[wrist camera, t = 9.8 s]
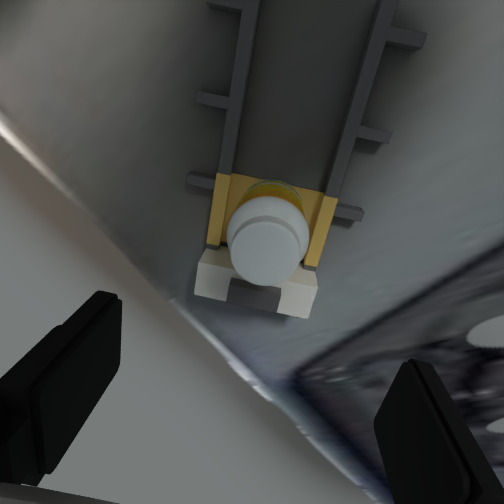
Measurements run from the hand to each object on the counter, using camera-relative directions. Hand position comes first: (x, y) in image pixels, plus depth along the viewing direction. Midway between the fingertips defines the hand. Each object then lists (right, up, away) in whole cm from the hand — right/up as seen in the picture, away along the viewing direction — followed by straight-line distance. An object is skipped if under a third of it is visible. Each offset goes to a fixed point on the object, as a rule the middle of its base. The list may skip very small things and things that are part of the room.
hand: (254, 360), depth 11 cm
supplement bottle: (+2, +7, +17) cm, 18 cm away
